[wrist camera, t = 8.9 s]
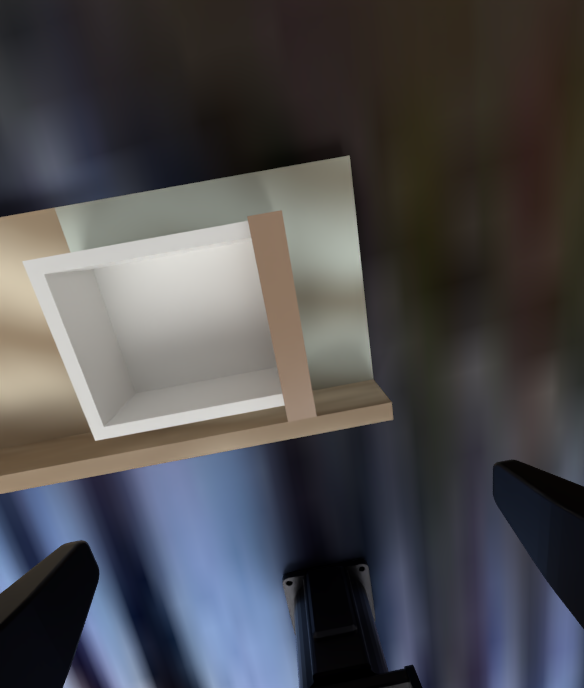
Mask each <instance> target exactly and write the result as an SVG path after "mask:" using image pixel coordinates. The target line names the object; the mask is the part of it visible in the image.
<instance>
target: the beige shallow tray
mask: <svg viewBox="0 0 584 688" xmlns="http://www.w3.org/2000/svg"><path fill="white" fill-rule="evenodd" d="M280 210H282V214H283V220H284V226H285V232H286V238H287V244H288V250H289V256H290V262H291V267H292V273H293V279H294V285H295V291H296V297H297V303H298V309H299V315H300V321H301V327H302V333H303V339H304V345H305V350H306V356H307V362H308V368H309V374H310V380H311V386H312V392H313V398H314V404H315V410H316V416H317V417H312V418H307V419H302V420H296V421H291V422H288V419H287V414H286V409H285V405H284V406H279V407H274V408H268V409H263V410H258V411H252V412H247V413H242V414H236V415H231V416H226V417H220V418H215V419H210V420H204V421H199V422H194V423H188V424H183V425H178V426H172V427H167V428H162V429H156V430H151V431H146V432H140V433H135V434H130V435H124V436H119V437H113V438H108V439H103V440H97V441H95V439H94V437H93V434H92V432H91V429H90V427H89V424H88V422H87V419H86V417H85V414H84V412H83V410H82V407H81V405H80V402H79V400H78V397H77V395H76V392H75V390H74V387H73V385H72V383H71V380H70V378H69V375H68V373H67V370H66V368H65V365H64V363H63V360H62V358H61V356H60V353H59V351H58V348H57V346H56V343H55V341H54V338H53V336H52V333H51V331H50V329H49V326H48V324H47V321H46V319H45V316H44V314H43V311H42V309H41V306H40V304H39V302H38V299H37V297H36V294H35V292H34V289H33V287H32V284H31V282H30V279H29V277H28V275H27V272H26V270H25V267H24V265H23V262H22V261H26V260H32V259H38V258H43V257H49V256H54V255H60V254H65V253H71V252H77V251H82V250H88V249H93V248H99V247H105V246H110V245H116V244H121V243H127V242H132V241H138V240H144V239H149V238H155V237H160V236H166V235H172V234H177V233H183V232H188V231H194V230H199V229H205V228H211V227H216V226H222V225H227V224H233V223H239V222H244V221H248V219H247V216H252V215H258V214H263V213H269V212H274V211H280ZM389 420H393V410H392V402H391V401H390V399H389V398H388V397H387V396H386V395H385V393H384V392H383V391H382V390H381V388H380V387H379V386H378V385H377V383H376V382H375V381H374V380H373V371H372V362H371V352H370V343H369V334H368V324H367V315H366V305H365V296H364V286H363V277H362V268H361V258H360V249H359V239H358V230H357V220H356V211H355V202H354V192H353V183H352V173H351V164H350V155H349V156H344V157H338V158H332V159H327V160H321V161H315V162H310V163H304V164H298V165H293V166H287V167H282V168H276V169H270V170H265V171H259V172H253V173H248V174H242V175H236V176H231V177H225V178H219V179H214V180H208V181H202V182H197V183H191V184H185V185H180V186H174V187H169V188H163V189H157V190H152V191H146V192H140V193H135V194H129V195H123V196H118V197H112V198H106V199H101V200H95V201H89V202H84V203H78V204H72V205H67V206H61V207H56V208H50V209H44V210H39V211H33V212H27V213H22V214H16V215H10V216H5V217H0V494H2V493H8V492H13V491H18V490H23V489H29V488H34V487H39V486H45V485H50V484H55V483H60V482H66V481H71V480H76V479H82V478H87V477H92V476H98V475H103V474H108V473H113V472H119V471H124V470H129V469H135V468H140V467H145V466H150V465H156V464H161V463H166V462H172V461H177V460H182V459H187V458H193V457H198V456H203V455H209V454H214V453H219V452H225V451H230V450H235V449H240V448H246V447H251V446H256V445H262V444H267V443H272V442H277V441H283V440H288V439H293V438H299V437H304V436H309V435H315V434H320V433H325V432H330V431H336V430H341V429H346V428H352V427H357V426H362V425H367V424H373V423H378V422H383V421H389Z"/></svg>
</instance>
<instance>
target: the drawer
mask: <svg viewBox="0 0 584 688" xmlns="http://www.w3.org/2000/svg"><path fill="white" fill-rule="evenodd" d="M247 219H248V221H244V222H239V223H233V224H227V225H222V226H216V227H211V228H205V229H199V230H194V231H188V232H183V233H177V234H172V235H166V236H160V237H155V238H149V239H144V240H138V241H132V242H127V243H121V244H116V245H110V246H105V247H99V248H93V249H88V250H82V251H77V252H71V253H65V254H60V255H54V256H49V257H43V258H38V259H32V260H26V261H22V262H23V265H24V267H25V270H26V272H27V275H28V277H29V279H30V282H31V284H32V287H33V289H34V292H35V294H36V297H37V299H38V302H39V304H40V306H41V309H42V311H43V314H44V316H45V319H46V321H47V324H48V326H49V329H50V331H51V333H52V336H53V338H54V341H55V343H56V346H57V348H58V351H59V353H60V356H61V358H62V360H63V363H64V365H65V368H66V370H67V373H68V375H69V378H70V380H71V383H72V385H73V387H74V390H75V392H76V395H77V397H78V400H79V402H80V405H81V407H82V410H83V412H84V414H85V417H86V419H87V422H88V424H89V427H90V429H91V432H92V434H93V437H94V439H95V441H97V440H103V439H108V438H113V437H119V436H124V435H130V434H135V433H140V432H146V431H151V430H156V429H162V428H167V427H172V426H178V425H183V424H188V423H194V422H199V421H204V420H210V419H215V418H220V417H226V416H231V415H236V414H242V413H247V412H252V411H258V410H263V409H268V408H274V407H279V406H284V405H285V409H286V414H287V419H288V422H291V421H296V420H302V419H307V418H312V417H317V416H316V410H315V404H314V398H313V392H312V386H311V380H310V374H309V368H308V362H307V356H306V350H305V345H304V339H303V333H302V327H301V321H300V315H299V309H298V303H297V297H296V291H295V285H294V279H293V273H292V267H291V262H290V256H289V250H288V244H287V238H286V232H285V226H284V220H283V214H282V210H280V211H274V212H269V213H263V214H258V215H252V216H247Z"/></svg>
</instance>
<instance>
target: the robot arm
mask: <svg viewBox="0 0 584 688" xmlns="http://www.w3.org/2000/svg"><path fill="white" fill-rule="evenodd" d="M493 496H494V499H495V502H496V504H497V506H498V507H499V509H500V510H501V512H502V514H503V515H504V517H505V518H506V520H507V521H508V523H509V524H510V526H511V527H512V529H513V530H514V532H515V534H516V535H517V537H518V538H519V540H520V541H521V543H522V544H523V546H524V547H525V549H526V550H527V552H528V553H529V555H530V557H531V558H532V560H533V561H534V563H535V564H536V566H537V567H538V569H539V570H540V572H541V573H542V575H543V576H544V577H545V579H546V580H547V582H548V583H549V584H550V586H551V587H552V588H553V590H554V591H555V592H556V594H557V595H558V596H559V598H560V599H561V600H562V602H563V603H564V604H565V605H566V607H567V608H568V609H569V611H570V612H571V613H572V614H573V616H574V617H575V618H576V620H577V621H578V622H579V624H580V625H581V626H582V627H583V629H584V486H581V485H578V484H576V483H573V482H571V481H568V480H566V479H563V478H561V477H558V476H555V475H553V474H550V473H548V472H545V471H543V470H540V469H538V468H535V467H532V466H530V465H527V464H525V463H522V462H520V461H517V460H507V461H501V462H497V463H495V464H494V466H493ZM98 580H99V567H98V565H97V562H96V560H95V558H94V556H93V553H92V551H91V549H90V546H89V544H88V543H87V542H86V541H82V540H81V541H75V542H70V543H66V544H64V545H62V546H60V547H59V548H58V549H56V550H55V551H54V552H53V553H51V554H50V555H49V556H48V557H46V558H45V559H44V560H43V561H41V562H40V563H39V564H37V565H36V566H35V567H34V568H32V569H31V570H30V571H29V572H27V573H26V574H25V575H23V576H22V577H21V578H20V579H18V580H17V581H16V582H15V583H13V584H12V585H11V586H10V587H8V588H7V589H6V590H4V591H3V592H2V593H1V594H0V688H63V685H64V683H65V680H66V678H67V675H68V672H69V670H70V667H71V664H72V661H73V658H74V655H75V652H76V649H77V646H78V643H79V640H80V637H81V634H82V630H83V627H84V624H85V621H86V618H87V615H88V612H89V609H90V606H91V603H92V599H93V596H94V593H95V590H96V587H97V584H98ZM283 588H284V592H285V596H286V600H287V604H288V608H289V612H290V616H291V620H292V624H293V628H294V632H295V635H296V647H297V662H298V677H299V688H422V686H421V683H420V681H419V678H418V676H417V673H416V671H415V668H414V666H413V665H409V666H404V669H400V670H395V671H390V672H388V668H387V665H386V661H385V657H384V654H383V650H382V647H381V643H380V640H379V636H378V633H377V629H376V625H375V612H374V605H373V597H372V590H371V583H370V575H369V568H368V565H367V562H366V560H364V559H357V560H352V561H347V562H342V563H337V564H332V565H327V566H322V567H316V568H311V569H306V570H301V571H296V572H291V573H287V574H285V575H284V576H283Z"/></svg>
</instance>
